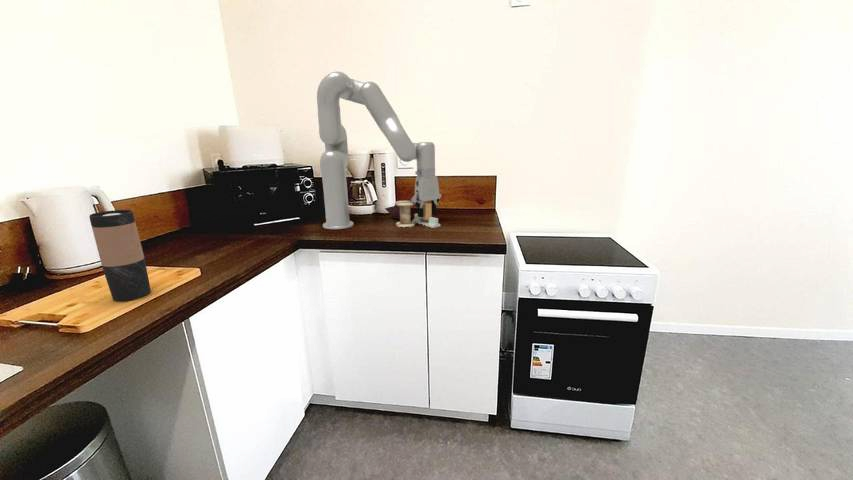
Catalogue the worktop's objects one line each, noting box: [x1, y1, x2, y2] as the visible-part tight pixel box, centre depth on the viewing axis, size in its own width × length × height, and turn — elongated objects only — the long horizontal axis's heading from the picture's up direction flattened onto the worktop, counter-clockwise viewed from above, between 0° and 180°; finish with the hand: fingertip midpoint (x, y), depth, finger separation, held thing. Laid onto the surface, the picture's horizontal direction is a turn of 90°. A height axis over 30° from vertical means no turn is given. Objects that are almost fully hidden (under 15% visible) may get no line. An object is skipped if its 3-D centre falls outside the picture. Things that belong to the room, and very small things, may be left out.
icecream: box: [384, 204, 400, 220], centre depth 163 cm, size 7×7×15 cm
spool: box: [394, 200, 416, 229], centre depth 149 cm, size 8×8×10 cm
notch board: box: [412, 213, 441, 229], centre depth 152 cm, size 14×4×4 cm, turn 40°
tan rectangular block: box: [420, 202, 433, 223], centre depth 151 cm, size 4×3×8 cm
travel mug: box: [89, 209, 152, 303], centre depth 82 cm, size 8×8×20 cm
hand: (427, 215), depth 152 cm, fingers open, 6 cm apart
